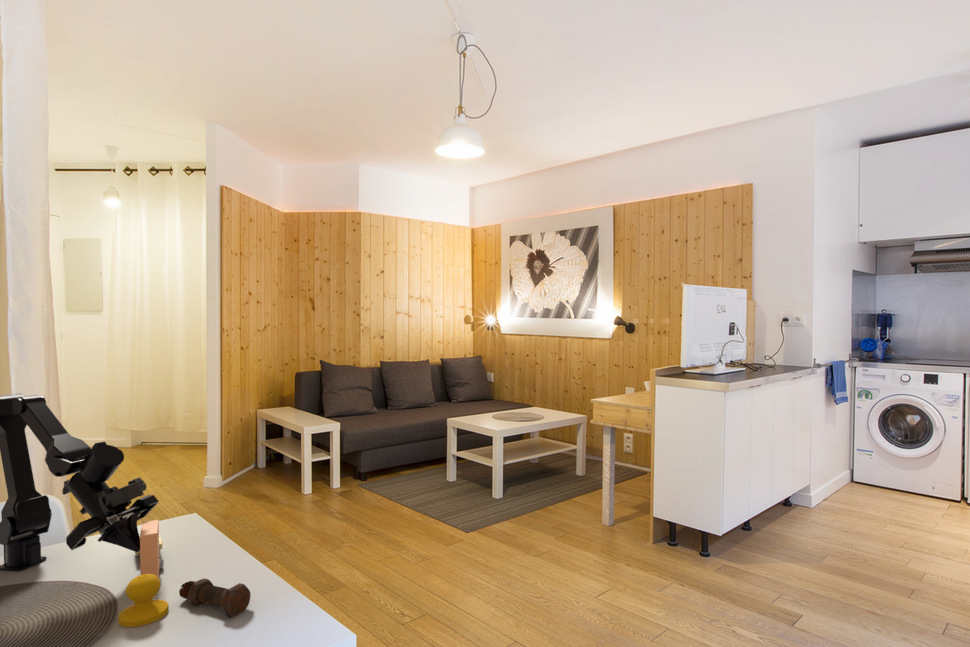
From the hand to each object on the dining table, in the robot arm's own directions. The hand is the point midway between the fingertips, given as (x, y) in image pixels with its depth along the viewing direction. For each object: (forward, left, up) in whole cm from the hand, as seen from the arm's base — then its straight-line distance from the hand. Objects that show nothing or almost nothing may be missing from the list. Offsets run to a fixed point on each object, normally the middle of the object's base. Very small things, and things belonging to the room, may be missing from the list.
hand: (139, 550), depth 116 cm
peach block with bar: (-2, +6, -7) cm, 9 cm away
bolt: (+21, -6, -7) cm, 24 cm away
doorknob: (+11, -11, -7) cm, 17 cm away
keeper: (-9, +13, -7) cm, 17 cm away
